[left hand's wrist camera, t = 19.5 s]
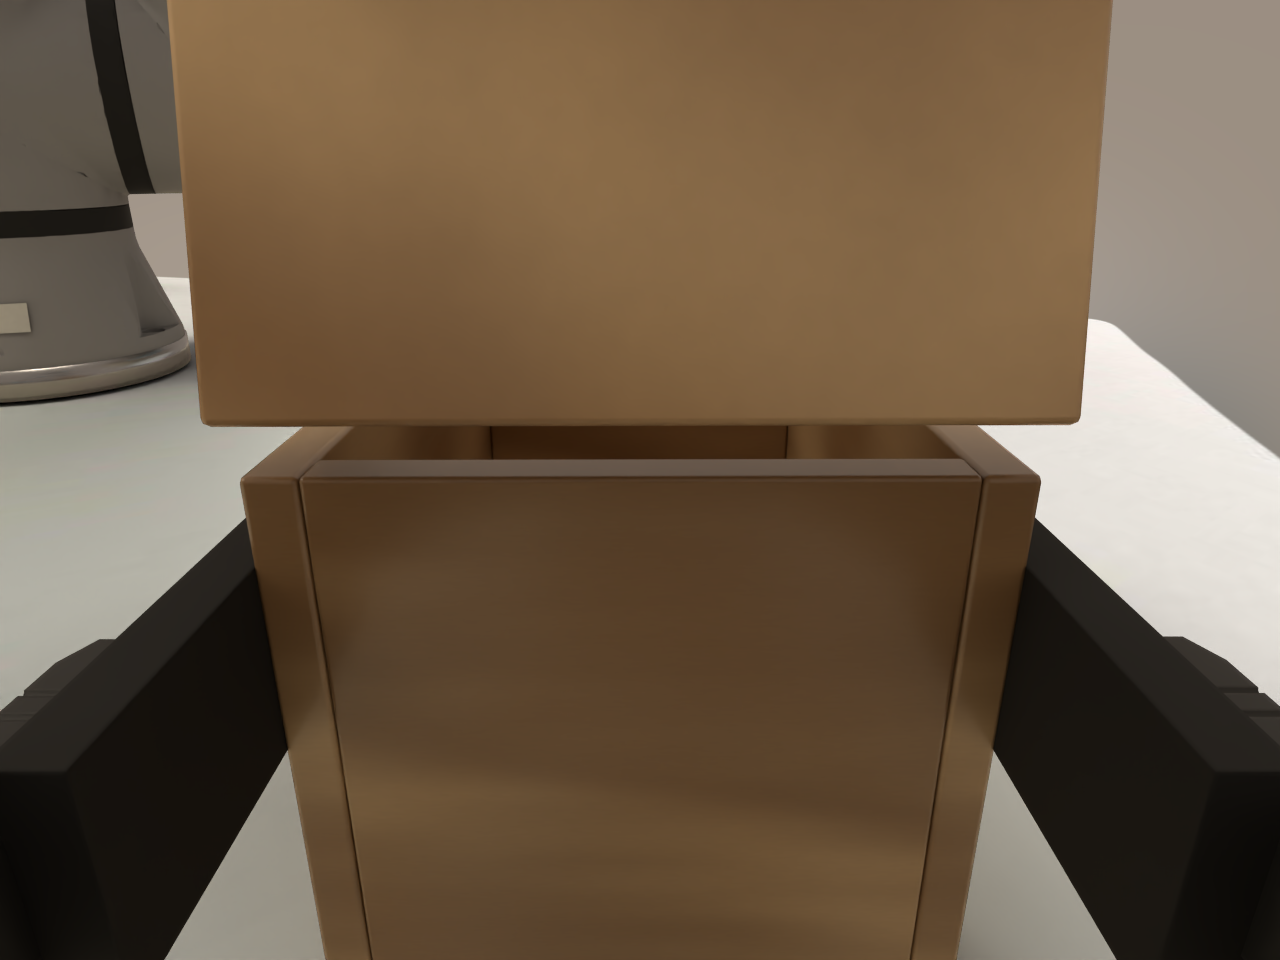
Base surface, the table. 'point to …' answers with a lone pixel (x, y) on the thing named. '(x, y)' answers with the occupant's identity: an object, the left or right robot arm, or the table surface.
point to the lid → (639, 210)
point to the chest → (640, 683)
